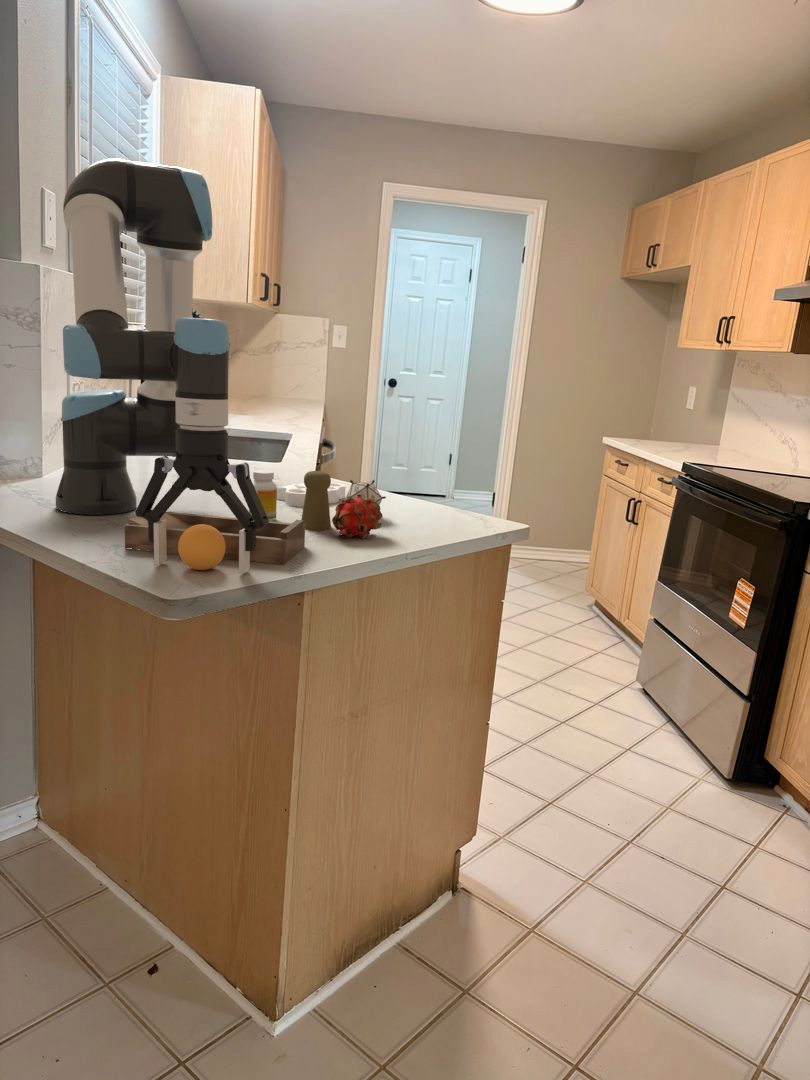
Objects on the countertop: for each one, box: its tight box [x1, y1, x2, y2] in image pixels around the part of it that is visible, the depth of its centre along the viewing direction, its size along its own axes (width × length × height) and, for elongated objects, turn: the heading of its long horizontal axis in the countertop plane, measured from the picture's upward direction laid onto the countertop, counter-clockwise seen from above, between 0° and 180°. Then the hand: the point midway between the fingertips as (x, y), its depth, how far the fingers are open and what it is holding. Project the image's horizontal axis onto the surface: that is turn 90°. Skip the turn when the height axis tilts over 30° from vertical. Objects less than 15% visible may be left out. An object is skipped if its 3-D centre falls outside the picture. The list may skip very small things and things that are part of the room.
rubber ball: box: [178, 524, 226, 571], centre depth 117 cm, size 7×7×7 cm
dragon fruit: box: [331, 495, 383, 540], centre depth 145 cm, size 8×8×12 cm
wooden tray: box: [124, 511, 306, 566], centre depth 131 cm, size 27×12×5 cm, turn 82°
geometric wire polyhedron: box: [340, 479, 387, 506], centre depth 161 cm, size 9×8×10 cm
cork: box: [300, 470, 332, 532], centre depth 150 cm, size 6×6×11 cm
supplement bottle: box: [248, 469, 278, 522], centre depth 153 cm, size 5×5×10 cm
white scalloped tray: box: [277, 482, 347, 508], centre depth 178 cm, size 3×18×15 cm
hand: (202, 567), depth 118 cm, fingers open, 13 cm apart
